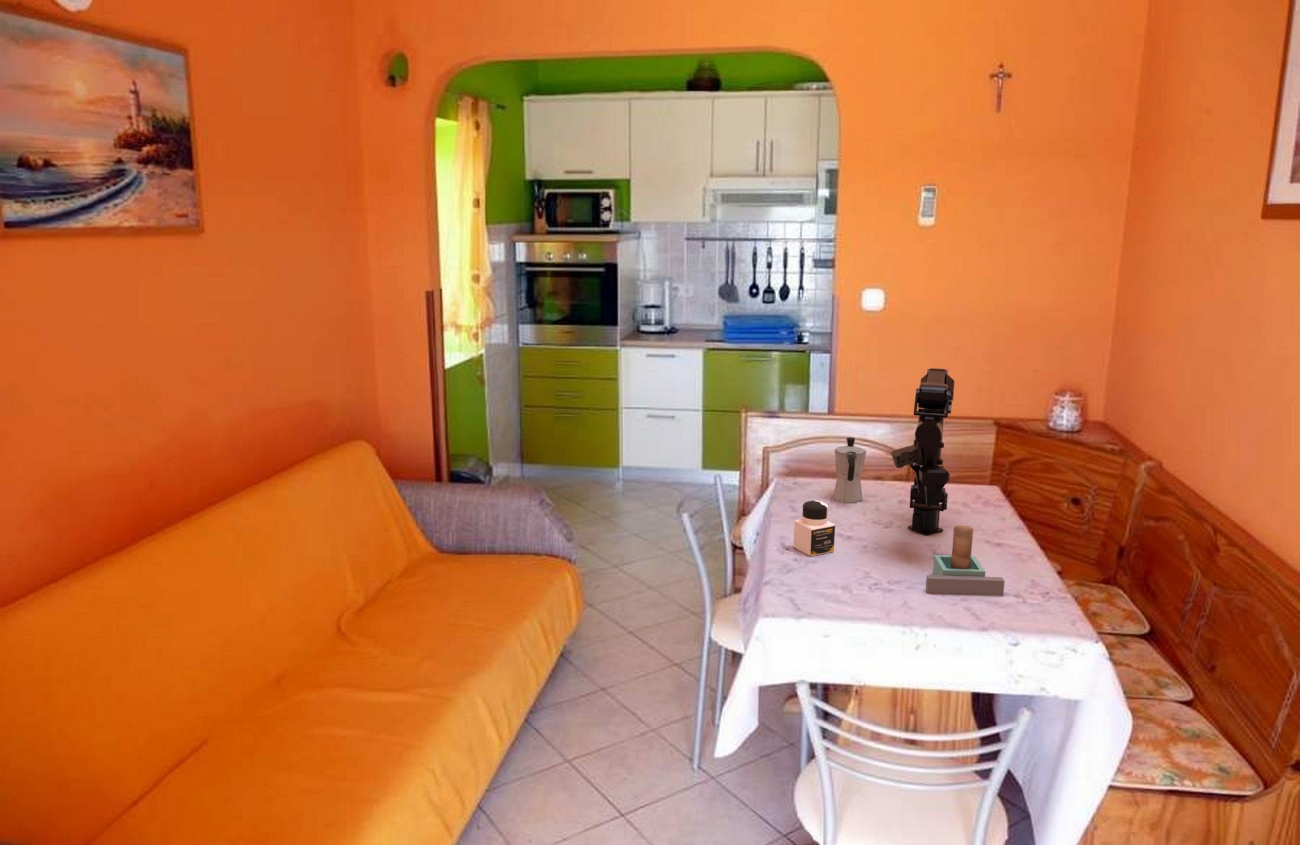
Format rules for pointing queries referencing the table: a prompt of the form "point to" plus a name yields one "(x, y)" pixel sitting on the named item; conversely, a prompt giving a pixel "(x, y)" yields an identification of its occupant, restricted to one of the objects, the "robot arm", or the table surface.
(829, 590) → the table surface
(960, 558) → the dowel
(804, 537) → the medicine bottle
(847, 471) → the coffee maker
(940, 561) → the socket block
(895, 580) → the table surface
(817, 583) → the table surface
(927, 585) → the backstop wall
